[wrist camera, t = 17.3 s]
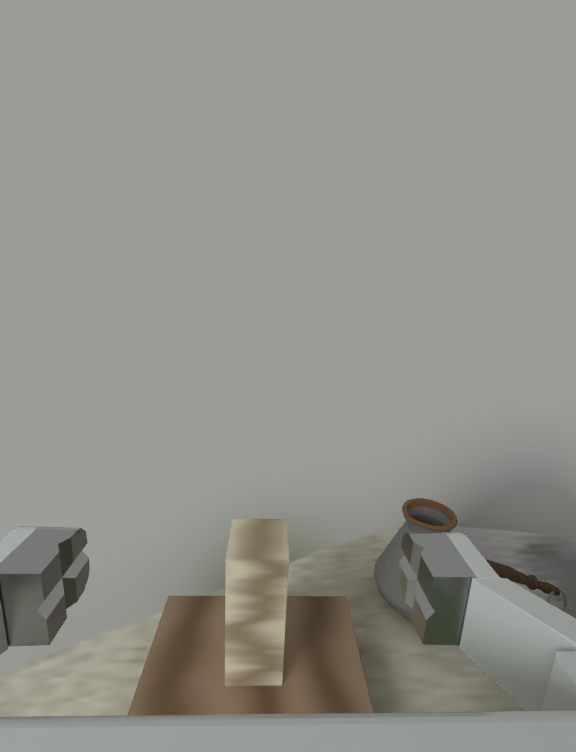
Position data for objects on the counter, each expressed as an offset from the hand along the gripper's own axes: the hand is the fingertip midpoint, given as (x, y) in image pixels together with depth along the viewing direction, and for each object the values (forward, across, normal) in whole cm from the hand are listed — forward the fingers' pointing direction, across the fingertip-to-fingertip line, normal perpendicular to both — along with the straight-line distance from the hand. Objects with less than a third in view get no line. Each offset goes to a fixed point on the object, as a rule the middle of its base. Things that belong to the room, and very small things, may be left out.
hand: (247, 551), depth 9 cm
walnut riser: (+19, 0, +32) cm, 37 cm away
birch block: (+19, 0, +27) cm, 33 cm away
